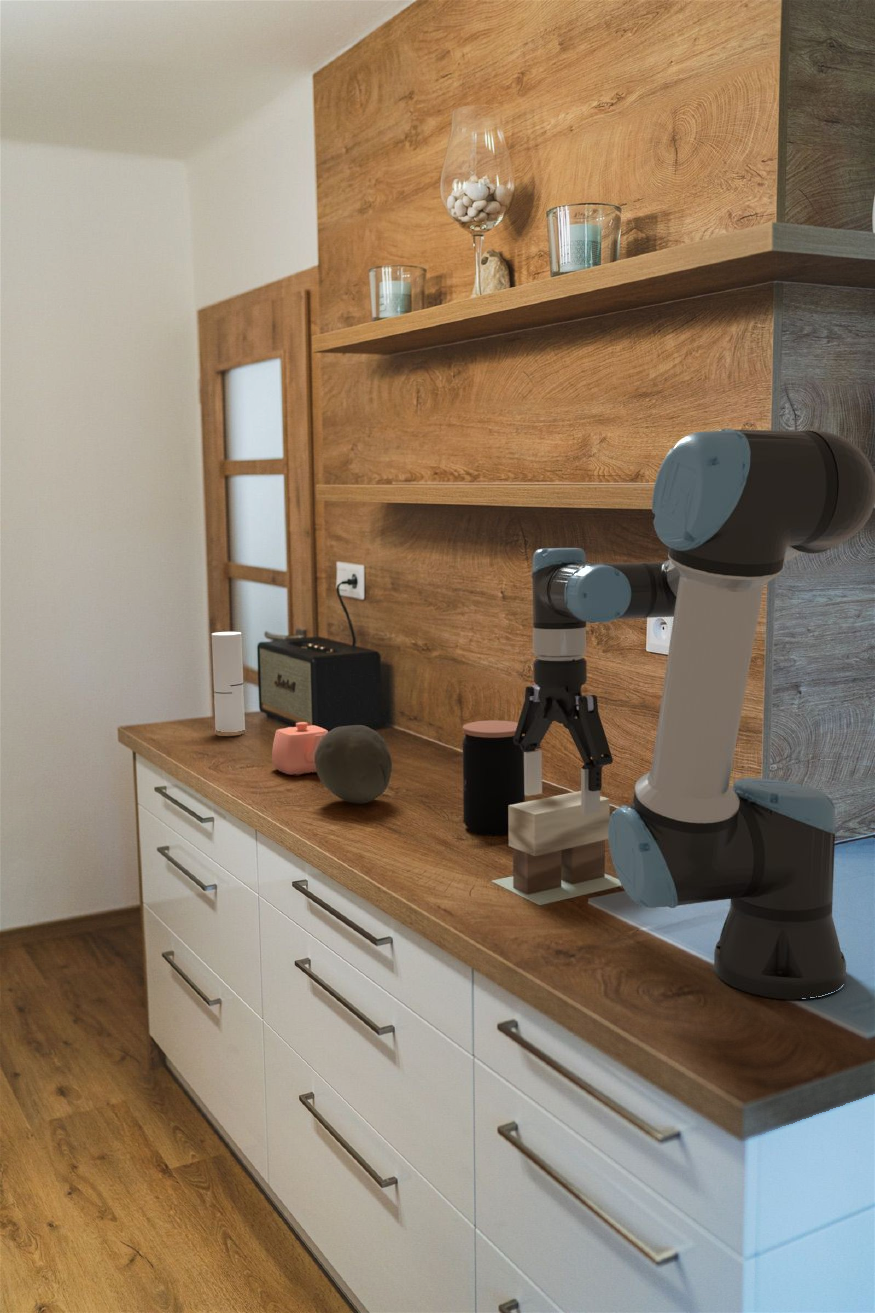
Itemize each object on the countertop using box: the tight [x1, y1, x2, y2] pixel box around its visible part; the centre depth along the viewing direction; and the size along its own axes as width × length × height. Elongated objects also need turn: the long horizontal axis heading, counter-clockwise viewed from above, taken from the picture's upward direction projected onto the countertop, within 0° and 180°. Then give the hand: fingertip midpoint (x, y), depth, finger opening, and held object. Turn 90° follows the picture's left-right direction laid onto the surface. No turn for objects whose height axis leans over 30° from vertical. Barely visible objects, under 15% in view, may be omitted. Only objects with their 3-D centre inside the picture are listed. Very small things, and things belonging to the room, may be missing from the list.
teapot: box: [271, 721, 329, 776], centre depth 243 cm, size 11×18×10 cm, turn 30°
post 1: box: [512, 847, 561, 895], centre depth 165 cm, size 4×6×6 cm, turn 121°
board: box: [491, 873, 622, 906], centre depth 168 cm, size 12×16×1 cm
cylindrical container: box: [211, 631, 246, 732], centre depth 281 cm, size 7×7×25 cm
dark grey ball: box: [315, 724, 393, 805], centre depth 216 cm, size 14×14×15 cm
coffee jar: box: [462, 719, 526, 836], centre depth 199 cm, size 11×11×18 cm
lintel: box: [508, 790, 611, 856], centre depth 166 cm, size 6×14×6 cm, turn 124°
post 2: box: [561, 840, 606, 884], centre depth 169 cm, size 4×6×6 cm, turn 121°
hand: (561, 803), depth 165 cm, fingers open, 13 cm apart
